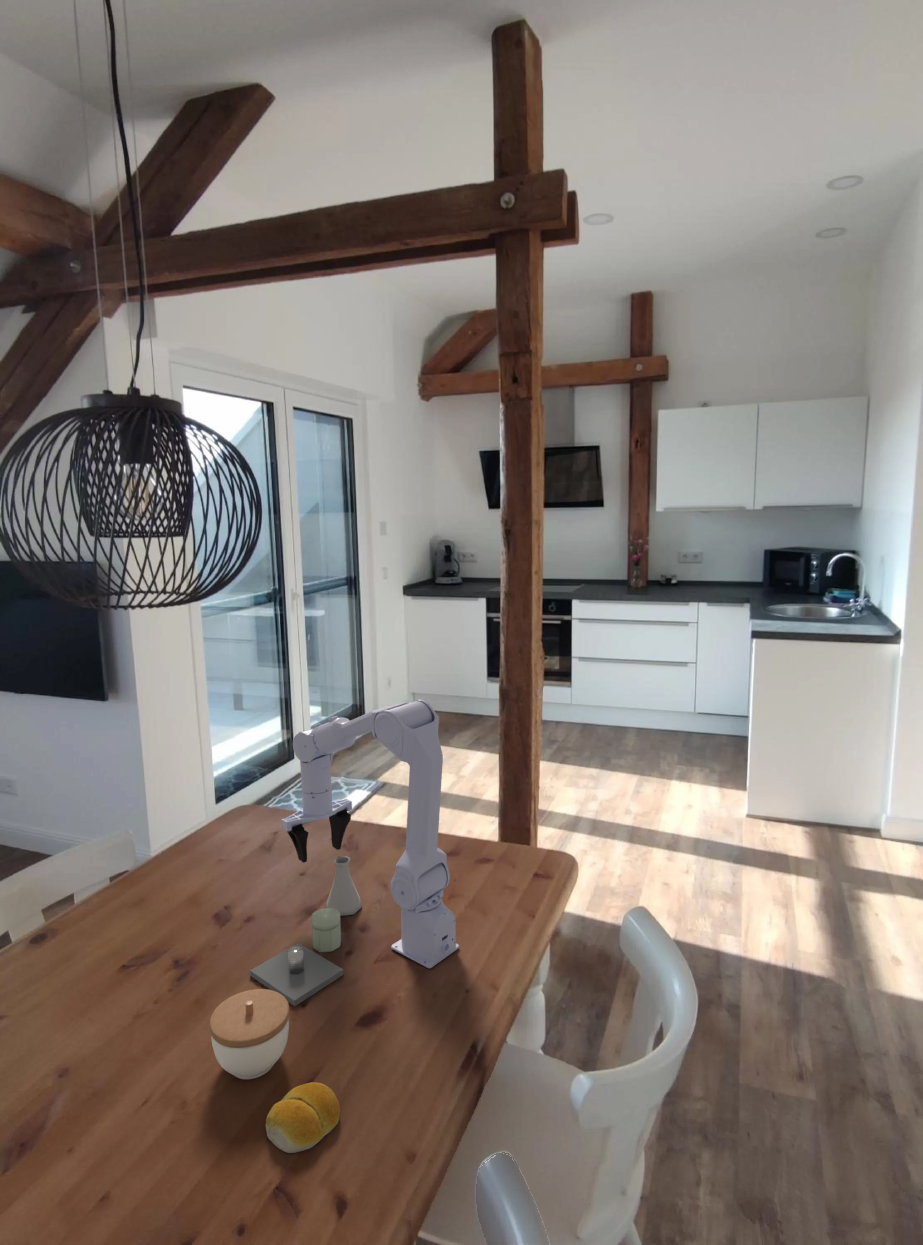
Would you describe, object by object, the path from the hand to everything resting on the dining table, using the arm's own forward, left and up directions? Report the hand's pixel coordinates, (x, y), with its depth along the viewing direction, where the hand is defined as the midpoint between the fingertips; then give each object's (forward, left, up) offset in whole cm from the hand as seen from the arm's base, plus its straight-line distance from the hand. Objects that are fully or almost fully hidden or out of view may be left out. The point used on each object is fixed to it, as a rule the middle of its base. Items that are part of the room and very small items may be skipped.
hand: (319, 854), depth 143 cm
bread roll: (-40, +36, -10) cm, 55 cm away
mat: (-15, +18, -10) cm, 26 cm away
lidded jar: (-26, +34, -10) cm, 44 cm away
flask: (-5, -1, -10) cm, 12 cm away
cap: (-12, +9, -10) cm, 18 cm away
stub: (-15, +18, -10) cm, 26 cm away
